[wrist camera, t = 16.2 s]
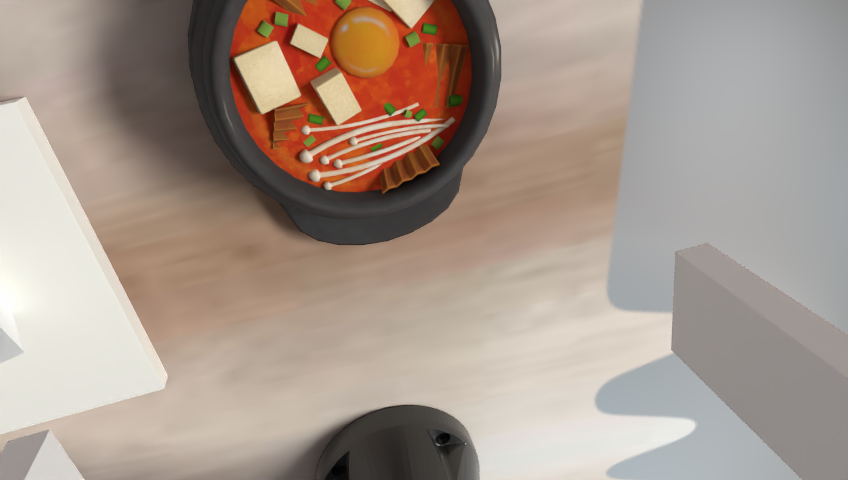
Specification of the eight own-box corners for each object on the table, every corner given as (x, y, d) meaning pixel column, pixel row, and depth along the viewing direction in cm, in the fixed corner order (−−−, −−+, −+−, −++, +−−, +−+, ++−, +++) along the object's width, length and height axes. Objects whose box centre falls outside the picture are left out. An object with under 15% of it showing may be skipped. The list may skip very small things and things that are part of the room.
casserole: (499, 201, 43) (543, 248, 36) (260, 260, 41) (255, 324, 34) (455, -196, 32) (506, -246, 24) (118, -143, 30) (63, -179, 22)
